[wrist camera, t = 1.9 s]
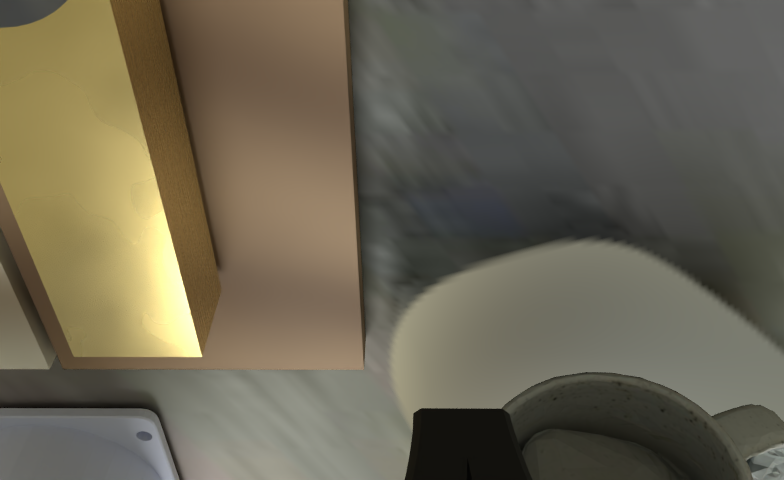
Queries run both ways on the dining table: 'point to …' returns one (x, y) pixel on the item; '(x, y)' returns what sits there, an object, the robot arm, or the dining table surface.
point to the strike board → (245, 195)
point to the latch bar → (105, 176)
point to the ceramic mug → (640, 433)
